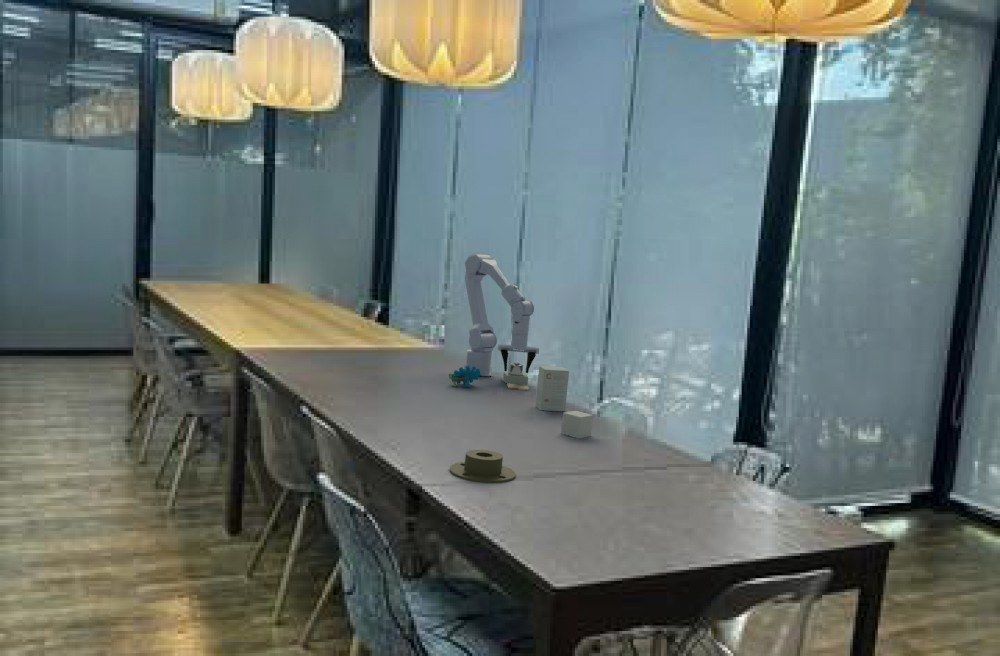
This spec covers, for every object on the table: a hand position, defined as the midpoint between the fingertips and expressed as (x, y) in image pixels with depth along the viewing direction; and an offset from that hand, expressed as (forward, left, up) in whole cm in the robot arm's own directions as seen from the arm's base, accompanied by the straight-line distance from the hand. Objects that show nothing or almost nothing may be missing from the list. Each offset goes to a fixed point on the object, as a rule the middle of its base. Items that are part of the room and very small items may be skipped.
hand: (516, 371), depth 324 cm
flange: (-19, -118, -5) cm, 120 cm away
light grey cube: (+10, -73, -4) cm, 74 cm away
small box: (+7, -41, -4) cm, 42 cm away
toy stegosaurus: (-19, -14, -4) cm, 24 cm away
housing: (0, 0, -4) cm, 4 cm away
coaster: (0, -9, -4) cm, 10 cm away
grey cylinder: (0, 0, -4) cm, 4 cm away
